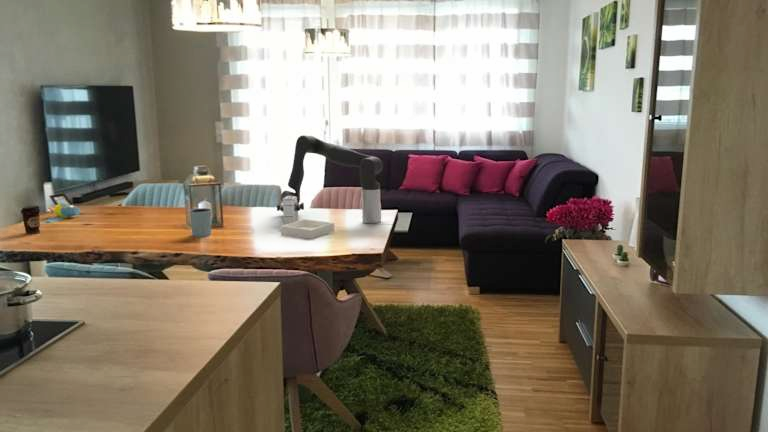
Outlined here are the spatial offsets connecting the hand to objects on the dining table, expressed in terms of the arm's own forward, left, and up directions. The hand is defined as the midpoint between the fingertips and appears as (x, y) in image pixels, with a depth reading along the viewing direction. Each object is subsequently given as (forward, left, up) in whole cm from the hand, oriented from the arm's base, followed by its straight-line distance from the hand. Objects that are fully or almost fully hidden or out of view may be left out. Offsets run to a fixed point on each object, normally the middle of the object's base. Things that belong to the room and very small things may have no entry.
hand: (290, 209), depth 322 cm
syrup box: (-2, -1, -9) cm, 9 cm away
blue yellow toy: (+42, -125, -9) cm, 132 cm away
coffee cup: (+73, -101, -9) cm, 125 cm away
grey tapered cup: (+35, -25, -9) cm, 44 cm away
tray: (+7, +17, -9) cm, 20 cm away
